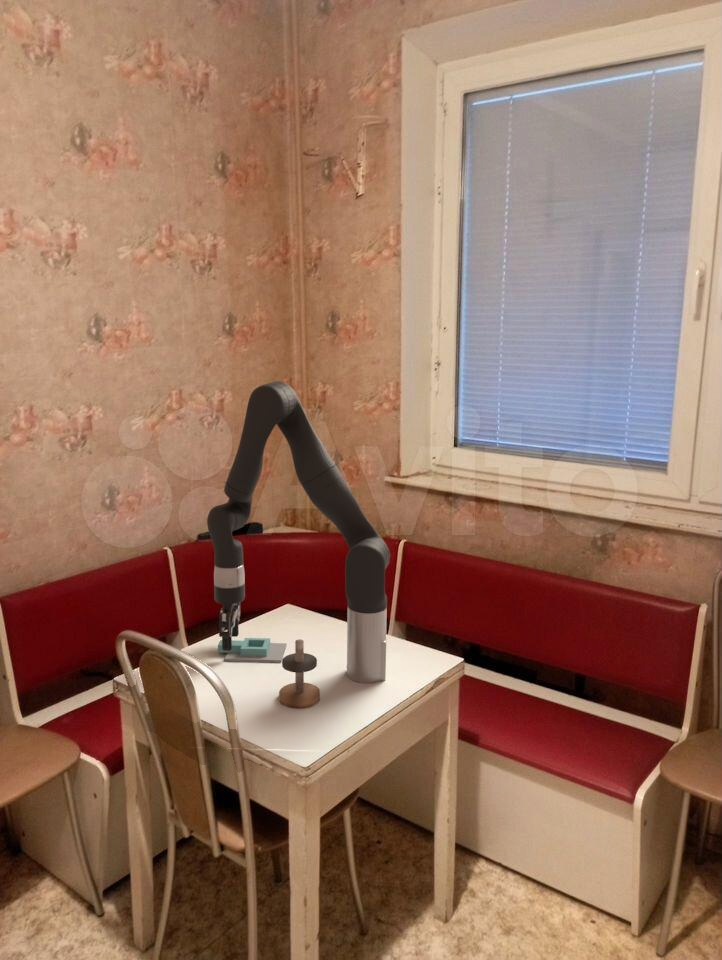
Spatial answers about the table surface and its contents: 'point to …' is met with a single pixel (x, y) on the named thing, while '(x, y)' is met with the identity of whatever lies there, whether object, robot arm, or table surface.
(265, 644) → the teal square frame paddle
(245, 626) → the table surface
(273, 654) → the mat
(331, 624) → the table surface
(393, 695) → the table surface
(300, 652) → the stand
